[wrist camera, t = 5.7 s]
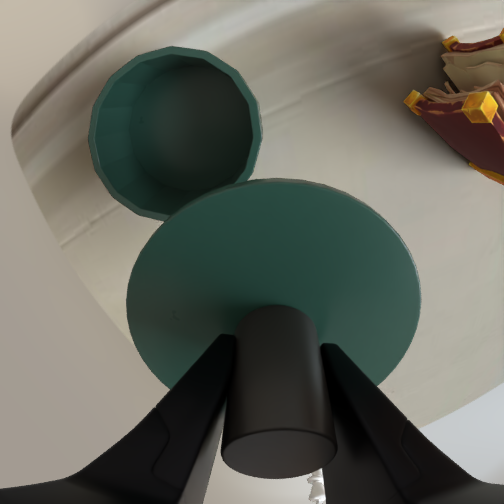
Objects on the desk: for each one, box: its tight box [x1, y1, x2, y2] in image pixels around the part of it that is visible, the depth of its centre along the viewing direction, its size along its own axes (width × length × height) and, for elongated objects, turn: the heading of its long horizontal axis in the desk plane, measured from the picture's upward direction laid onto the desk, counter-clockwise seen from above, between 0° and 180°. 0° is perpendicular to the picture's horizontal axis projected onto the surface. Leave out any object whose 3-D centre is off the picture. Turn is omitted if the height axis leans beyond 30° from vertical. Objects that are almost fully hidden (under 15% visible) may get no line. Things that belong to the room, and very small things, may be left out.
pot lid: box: [126, 178, 421, 479], centre depth 8 cm, size 9×9×5 cm
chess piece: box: [307, 468, 326, 504], centre depth 27 cm, size 5×5×10 cm
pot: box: [88, 46, 263, 222], centre depth 16 cm, size 8×8×5 cm
